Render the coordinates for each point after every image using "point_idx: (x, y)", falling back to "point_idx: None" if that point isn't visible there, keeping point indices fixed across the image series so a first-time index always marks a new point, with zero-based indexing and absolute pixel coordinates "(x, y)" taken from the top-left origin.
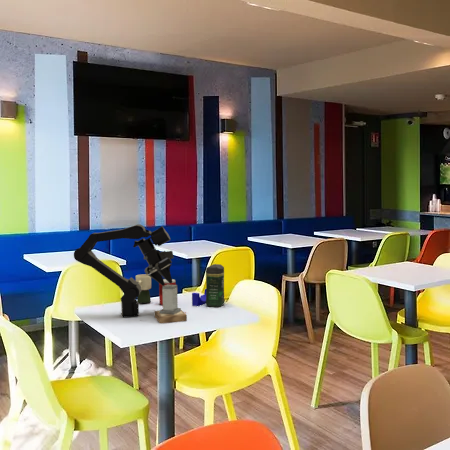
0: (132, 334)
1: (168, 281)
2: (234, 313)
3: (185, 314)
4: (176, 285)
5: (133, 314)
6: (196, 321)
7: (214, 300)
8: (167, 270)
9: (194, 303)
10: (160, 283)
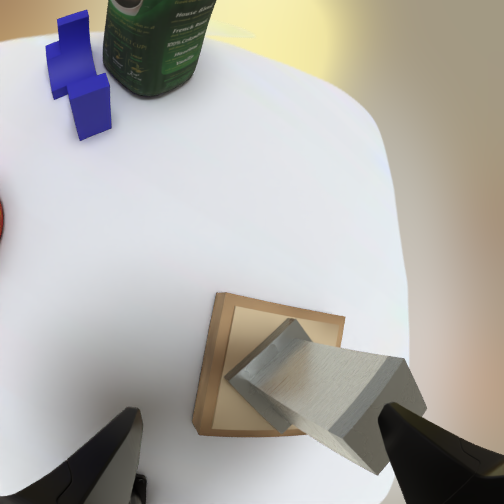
0: (355, 494)
1: (394, 441)
2: (309, 107)
3: (338, 319)
4: (407, 367)
5: (137, 493)
6: (348, 284)
7: (187, 66)
8: (483, 480)
9: (92, 127)
10: (137, 461)
